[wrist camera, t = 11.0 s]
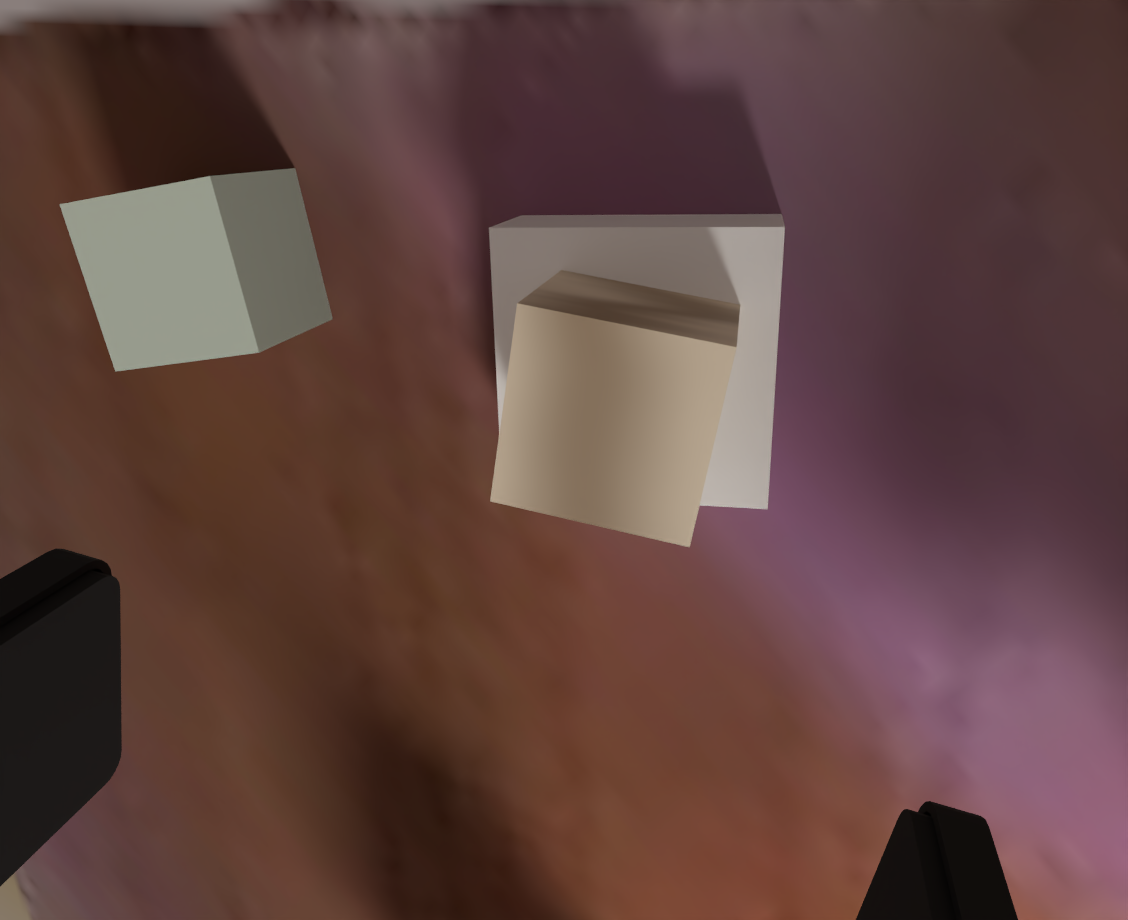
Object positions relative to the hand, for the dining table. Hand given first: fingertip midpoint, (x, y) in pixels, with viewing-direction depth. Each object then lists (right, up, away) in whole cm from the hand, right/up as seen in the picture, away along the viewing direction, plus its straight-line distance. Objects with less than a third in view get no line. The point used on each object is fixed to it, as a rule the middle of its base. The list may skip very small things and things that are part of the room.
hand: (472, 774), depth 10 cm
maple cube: (+3, +6, +15) cm, 17 cm away
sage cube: (-10, +11, +20) cm, 25 cm away
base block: (+4, +8, +19) cm, 21 cm away
